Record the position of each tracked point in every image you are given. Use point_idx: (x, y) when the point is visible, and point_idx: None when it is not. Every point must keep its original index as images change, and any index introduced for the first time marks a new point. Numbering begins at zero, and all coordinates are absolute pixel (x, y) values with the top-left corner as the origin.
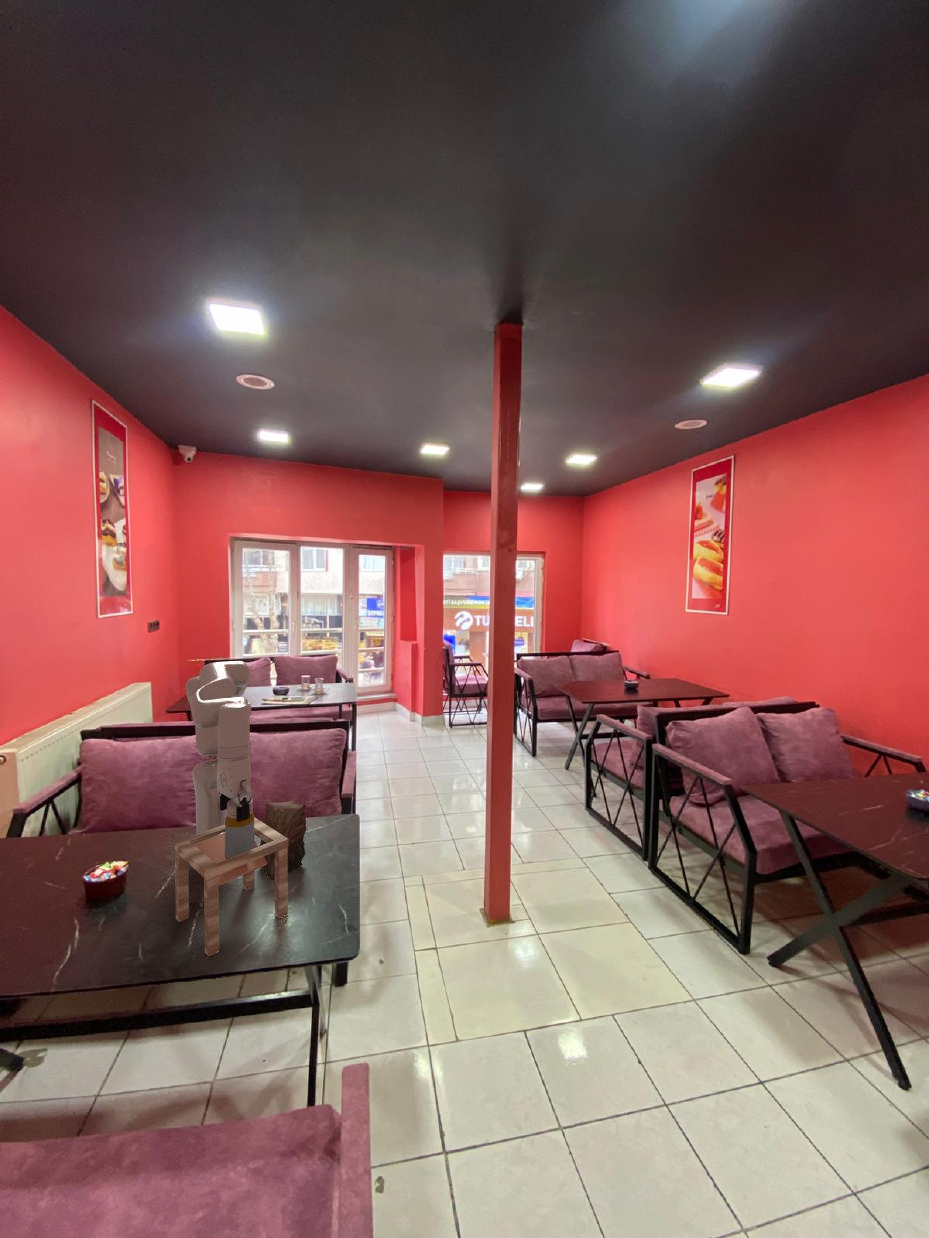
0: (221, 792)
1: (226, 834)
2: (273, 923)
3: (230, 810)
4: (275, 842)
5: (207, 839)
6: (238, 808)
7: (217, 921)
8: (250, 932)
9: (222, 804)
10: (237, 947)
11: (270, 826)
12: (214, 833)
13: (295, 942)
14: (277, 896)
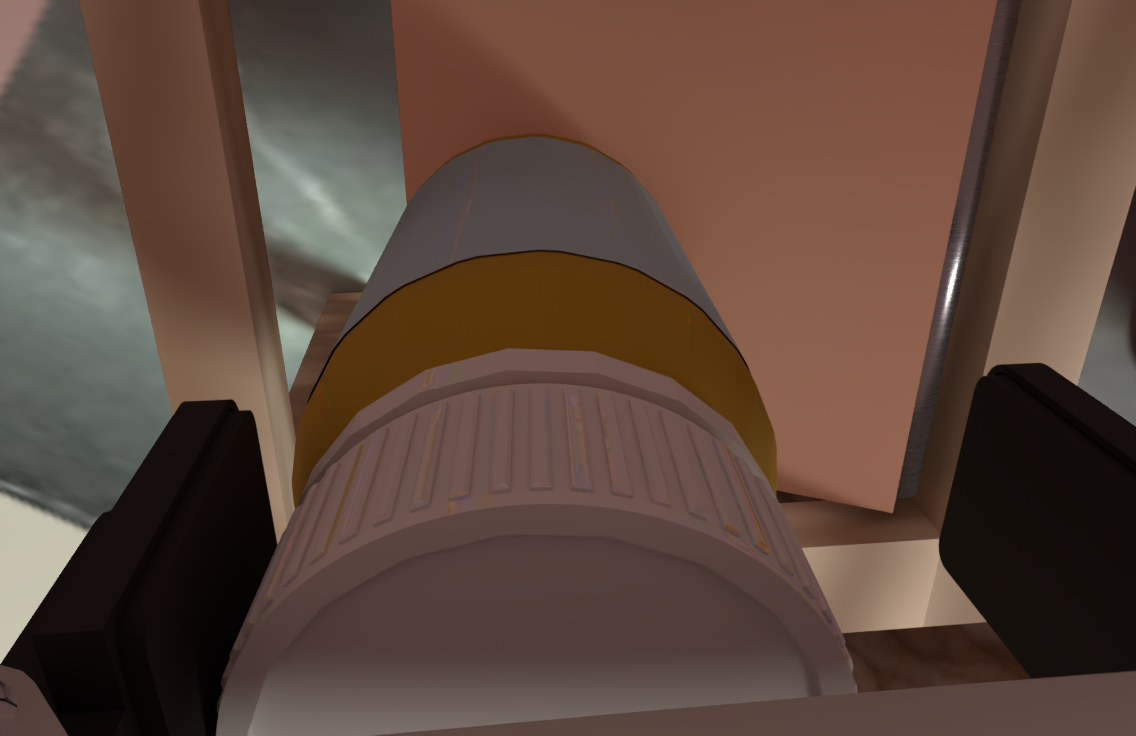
0: (1106, 698)
1: (525, 204)
2: (319, 254)
3: (432, 448)
4: None
5: (964, 98)
6: (73, 620)
7: None
8: (332, 127)
9: (1054, 451)
10: (247, 11)
11: (919, 637)
12: (1011, 212)
13: (70, 263)
14: (335, 342)
